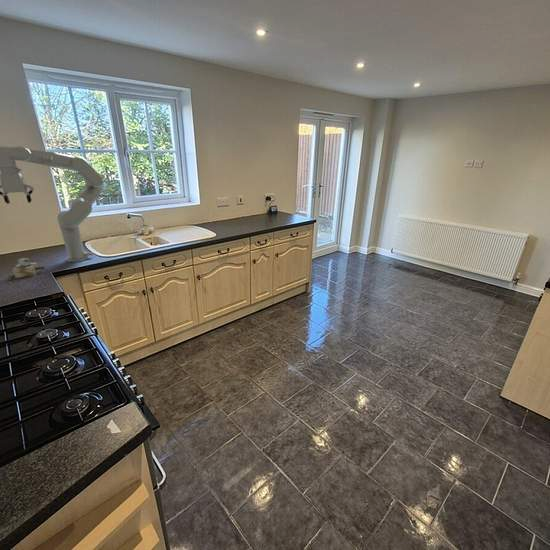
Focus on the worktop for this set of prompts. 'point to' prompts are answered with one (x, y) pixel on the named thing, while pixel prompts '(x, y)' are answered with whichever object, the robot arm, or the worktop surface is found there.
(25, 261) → the grey upright block
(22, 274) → the socket block
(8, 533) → the worktop surface
